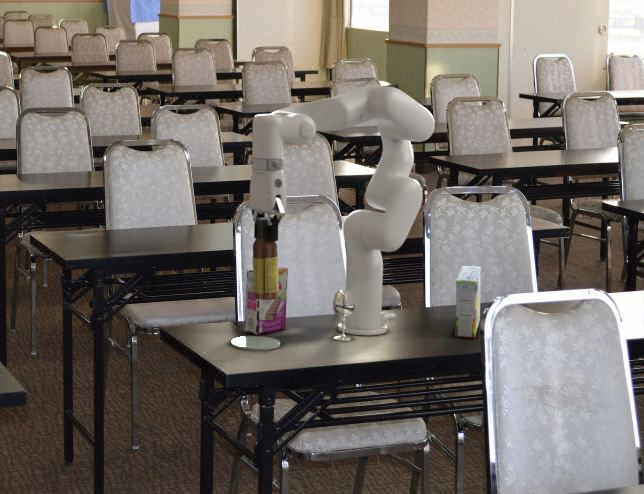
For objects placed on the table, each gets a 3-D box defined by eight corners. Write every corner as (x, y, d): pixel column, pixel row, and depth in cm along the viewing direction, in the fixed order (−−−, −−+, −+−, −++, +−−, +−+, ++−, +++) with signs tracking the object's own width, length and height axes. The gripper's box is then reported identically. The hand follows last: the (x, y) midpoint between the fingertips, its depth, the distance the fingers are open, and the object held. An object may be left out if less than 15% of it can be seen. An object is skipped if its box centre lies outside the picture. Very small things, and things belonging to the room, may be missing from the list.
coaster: (263, 336, 315) (263, 334, 315) (289, 346, 304) (289, 344, 304) (222, 341, 309) (222, 339, 309) (248, 352, 298) (248, 349, 298)
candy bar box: (258, 335, 315) (259, 272, 313) (244, 332, 319) (245, 269, 317) (287, 329, 323) (288, 267, 321) (272, 325, 327) (274, 264, 325)
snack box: (459, 319, 338) (461, 265, 336) (480, 321, 336) (482, 266, 334) (453, 337, 317) (455, 279, 315) (475, 338, 316) (478, 280, 314)
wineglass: (357, 337, 315) (358, 291, 314) (350, 342, 310) (351, 295, 309) (335, 334, 318) (337, 289, 316) (328, 339, 312) (329, 293, 311)
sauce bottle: (279, 296, 306) (281, 216, 303) (276, 301, 300) (278, 220, 297) (253, 294, 307) (255, 215, 305) (249, 299, 301) (251, 219, 298)
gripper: (300, 168, 294) (298, 243, 296) (261, 161, 309) (259, 233, 311) (273, 169, 290) (272, 246, 293) (235, 162, 305) (234, 235, 307)
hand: (265, 238), depth 302 cm, fingers closed on sauce bottle, 4 cm apart
